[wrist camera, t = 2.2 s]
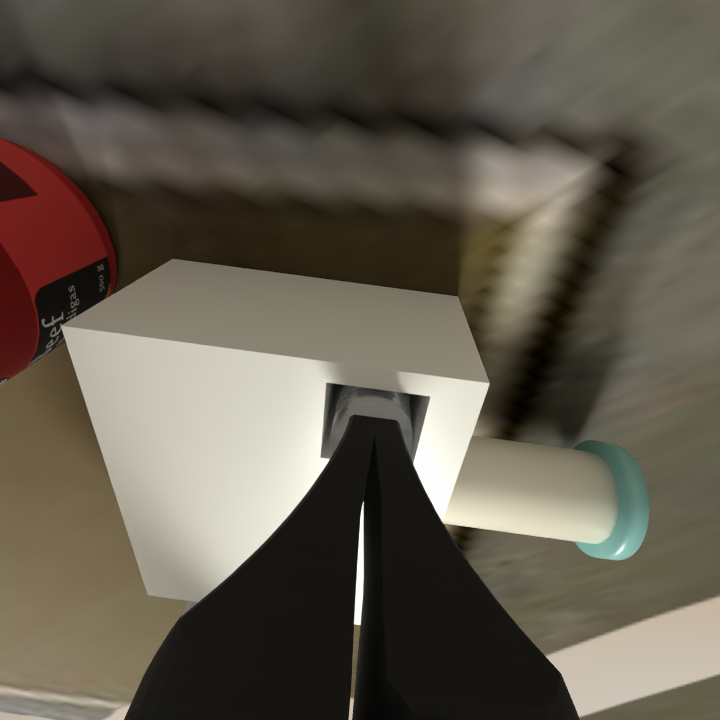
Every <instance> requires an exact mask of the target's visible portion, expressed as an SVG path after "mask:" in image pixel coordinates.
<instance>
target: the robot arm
mask: <svg viewBox="0 0 720 720" xmlns="http://www.w3.org/2000/svg"><path fill="white" fill-rule="evenodd" d="M362 506H363V551H364V580H363V601H362V613H361V625H360V637H359V649H358V661H357V672H356V684H355V695H354V706H353V718H352V720H580V719H579V716H578V714H577V711H576V709H575V706H574V704H573V702H572V699H571V697H570V694H569V692H568V689H567V687H566V685H565V682H564V680H563V677H562V675H561V673H560V672H559V671H558V670H557V669H556V668H555V667H554V665H553V664H552V663H551V662H550V661H549V660H548V659H547V658H546V657H545V656H544V655H543V653H542V652H541V651H540V650H539V649H538V648H537V647H536V646H535V645H534V644H533V642H532V641H531V640H530V639H529V638H528V637H527V636H526V635H525V633H524V632H523V631H522V630H521V629H520V628H519V627H518V625H517V624H516V623H515V622H514V620H513V619H512V618H511V617H510V616H509V614H508V613H507V612H506V611H505V610H504V608H503V607H502V606H501V605H500V603H499V602H498V601H497V600H496V599H495V597H494V596H493V595H492V593H491V592H490V591H489V589H488V588H487V587H486V585H485V584H484V583H483V581H482V580H481V579H480V577H479V576H478V574H477V573H476V572H475V570H474V569H473V568H472V566H471V565H470V564H469V562H468V561H467V560H466V558H465V557H464V555H463V554H462V552H461V551H460V549H459V548H458V546H457V545H456V543H455V542H454V540H453V538H452V537H451V535H450V534H449V532H448V530H447V529H446V527H445V525H444V524H443V522H442V520H441V519H440V517H439V515H438V513H437V512H436V510H435V508H434V506H433V504H432V502H431V500H430V498H429V497H428V495H427V493H426V491H425V489H424V487H423V485H422V482H421V480H420V478H419V476H418V474H417V471H416V469H415V467H414V465H413V462H412V460H411V457H410V455H409V452H408V449H407V447H406V444H405V441H404V438H403V435H402V432H401V428H400V424H399V423H398V421H397V420H392V419H384V418H377V417H369V416H362V415H355V414H354V415H352V416H351V417H350V418H349V422H348V425H347V427H346V430H345V432H344V434H343V436H342V438H341V440H340V442H339V444H338V446H337V448H336V450H335V451H334V453H333V455H332V456H331V458H330V460H329V461H328V463H327V465H326V466H325V468H324V469H323V471H322V472H321V474H320V475H319V477H318V478H317V480H316V481H315V482H314V484H313V485H312V487H311V488H310V489H309V491H308V492H307V493H306V495H305V496H304V497H303V499H302V500H301V501H300V502H299V504H298V505H297V506H296V507H295V509H294V510H293V511H292V512H291V513H290V515H289V516H288V517H287V518H286V519H285V520H284V521H283V523H282V524H281V525H280V526H279V527H278V528H277V529H276V530H275V531H274V532H273V534H272V535H271V536H270V537H269V538H268V539H267V540H266V541H265V542H264V543H263V544H262V545H261V546H260V547H259V548H258V549H257V550H256V551H255V552H254V553H253V554H252V555H251V556H250V557H249V558H248V559H247V560H246V561H244V562H243V563H242V564H241V565H240V566H239V567H238V568H237V569H236V570H235V571H234V572H233V573H232V574H231V575H230V576H229V577H227V578H226V579H225V580H224V581H223V582H222V583H221V584H220V585H218V586H217V587H216V588H215V589H214V590H212V591H211V592H210V593H209V594H208V595H206V596H205V597H204V598H203V599H202V600H200V601H199V602H193V601H188V602H187V605H186V607H185V609H184V611H183V614H182V616H181V617H180V618H179V619H178V621H177V622H176V624H175V625H174V627H173V628H172V630H171V631H170V632H169V634H168V635H167V637H166V638H165V640H164V642H163V643H162V645H161V646H160V648H159V650H158V651H157V653H156V655H155V656H154V658H153V660H152V662H151V664H150V665H149V667H148V669H147V670H146V672H145V674H144V676H143V678H142V681H141V683H140V685H139V687H138V690H137V692H136V694H135V696H134V699H133V701H132V703H131V705H130V707H129V710H128V712H127V714H126V716H125V719H124V720H348V718H349V706H350V694H351V678H352V655H353V635H354V615H355V596H356V579H357V562H358V547H359V532H360V518H361V511H362Z"/></svg>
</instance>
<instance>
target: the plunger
mask: <svg viewBox="0 0 720 720" xmlns="http://www.w3.org/2000/svg"><path fill="white" fill-rule="evenodd" d="M354 414H355V415H362V416H369V417H377V418H384V419H392V420H397V421H398V423H399V424H400V428H401V432H402V435H403V438H404V441H405V444H406V447H407V449H408V452H409V455H410V453H411V450H412V430H411V412H410V394H409V393H401V392H394V391H387V390H379V389H372V388H364V387H357V386H349V385H342V384H341V387H340V392H339V396H338V401H337V406H336V411H335V416H334V420H333V425H332V430H331V435H330V447H331V450H332V452H333V453H334V451H335V450H336V448H337V446H338V444H339V442H340V440H341V438H342V436H343V434H344V432H345V430H346V427H347V425H348V422H349V418H350V417H351V416H352V415H354Z"/></svg>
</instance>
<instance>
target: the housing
mask: <svg viewBox="0 0 720 720" xmlns="http://www.w3.org/2000/svg"><path fill="white" fill-rule="evenodd" d="M61 328H62V331H63V334H64V337H65V341H66V344H67V347H68V350H69V353H70V356H71V359H72V362H73V365H74V368H75V371H76V375H77V378H78V381H79V384H80V387H81V390H82V393H83V396H84V399H85V402H86V405H87V408H88V412H89V415H90V418H91V421H92V424H93V427H94V430H95V433H96V436H97V439H98V442H99V446H100V449H101V452H102V455H103V458H104V461H105V464H106V467H107V470H108V473H109V476H110V479H111V483H112V486H113V489H114V492H115V495H116V498H117V501H118V504H119V507H120V510H121V513H122V517H123V520H124V523H125V526H126V529H127V532H128V535H129V538H130V541H131V544H132V547H133V550H134V554H135V557H136V560H137V563H138V566H139V569H140V572H141V575H142V578H143V581H144V584H145V587H146V591H147V594H148V595H150V596H158V597H165V598H172V599H179V600H186V601H193V602H199V601H200V600H202V599H203V598H204V597H205V596H206V595H208V594H209V593H210V592H211V591H212V590H214V589H215V588H216V587H217V586H218V585H220V584H221V583H222V582H223V581H224V580H225V579H226V578H227V577H229V576H230V575H231V574H232V573H233V572H234V571H235V570H236V569H237V568H238V567H239V566H240V565H241V564H242V563H243V562H244V561H246V560H247V559H248V558H249V557H250V556H251V555H252V554H253V553H254V552H255V551H256V550H257V549H258V548H259V547H260V546H261V545H262V544H263V543H264V542H265V541H266V540H267V539H268V538H269V537H270V536H271V535H272V534H273V532H274V531H275V530H276V529H277V528H278V527H279V526H280V525H281V524H282V523H283V521H284V520H285V519H286V518H287V517H288V516H289V515H290V513H291V512H292V511H293V510H294V509H295V507H296V506H297V505H298V504H299V502H300V501H301V500H302V499H303V497H304V496H305V495H306V493H307V492H308V491H309V489H310V488H311V487H312V485H313V484H314V482H315V481H316V480H317V478H318V477H319V475H320V474H321V472H322V471H323V469H324V468H325V466H326V465H327V463H328V461H329V460H330V458H331V456H332V455H333V452H332V450H331V447H330V435H331V430H332V425H333V420H334V416H335V411H336V406H337V401H338V396H339V392H340V387H341V384H342V385H349V386H357V387H364V388H372V389H379V390H387V391H394V392H401V393H409V394H410V412H411V430H412V450H411V453H410V457H411V460H412V462H413V465H414V467H415V469H416V471H417V474H418V476H419V478H420V480H421V482H422V485H423V487H424V489H425V491H426V493H427V495H428V497H429V498H430V500H431V502H432V504H433V506H434V508H435V510H436V512H437V513H438V515H439V517H440V519H441V520H442V521H443V518H444V515H445V512H446V509H447V506H448V503H449V500H450V497H451V495H452V492H453V489H454V486H455V483H456V480H457V477H458V474H459V471H460V468H461V466H462V463H463V460H464V457H465V454H466V451H467V448H468V445H469V442H470V439H471V437H472V434H473V431H474V428H475V425H476V422H477V419H478V416H479V413H480V410H481V408H482V405H483V402H484V399H485V396H486V393H487V390H488V387H489V384H490V382H489V380H488V377H487V374H486V372H485V369H484V366H483V363H482V361H481V358H480V355H479V353H478V350H477V347H476V344H475V342H474V339H473V336H472V334H471V331H470V328H469V325H468V323H467V320H466V317H465V315H464V312H463V309H462V306H461V304H460V301H459V298H458V296H451V295H443V294H436V293H428V292H421V291H413V290H405V289H398V288H390V287H383V286H375V285H368V284H360V283H353V282H345V281H337V280H330V279H322V278H315V277H307V276H300V275H292V274H284V273H277V272H269V271H262V270H254V269H247V268H239V267H232V266H224V265H216V264H209V263H201V262H194V261H186V260H179V259H172V260H170V261H168V262H167V263H165V264H163V265H162V266H160V267H158V268H157V269H155V270H153V271H151V272H150V273H148V274H146V275H145V276H143V277H141V278H140V279H138V280H136V281H135V282H133V283H131V284H130V285H128V286H126V287H125V288H123V289H121V290H120V291H118V292H116V293H115V294H113V295H111V296H110V297H108V298H106V299H105V300H103V301H101V302H100V303H98V304H96V305H95V306H93V307H91V308H90V309H88V310H86V311H85V312H83V313H81V314H80V315H78V316H76V317H75V318H73V319H71V320H70V321H68V322H66V323H65V324H63V325H61ZM363 580H364V551H363V506H362V511H361V518H360V532H359V547H358V562H357V579H356V596H355V615H354V624H357V625H361V613H362V601H363Z"/></svg>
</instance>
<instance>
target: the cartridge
mask: <svg viewBox="0 0 720 720" xmlns="http://www.w3.org/2000/svg"><path fill="white" fill-rule="evenodd" d="M648 520H649V499H648V492H647V487H646V483H645V480H644V477H643V475H642V472H641V470H640V468H639V466H638V464H637V463H636V461H635V459H634V458H633V457H632V456H631V454H630V453H629V452H628V451H626V450H625V449H624V448H622V447H621V446H619V445H617V444H614V443H608V442H601V441H593V440H588V441H584V442H582V443H580V444H578V445H577V446H576V447H575V448H574V449H567V448H560V447H552V446H545V445H538V444H530V443H523V442H516V441H508V440H501V439H493V438H486V437H479V436H472V437H471V439H470V442H469V445H468V448H467V451H466V454H465V457H464V460H463V463H462V466H461V468H460V471H459V474H458V477H457V480H456V483H455V486H454V489H453V492H452V495H451V497H450V500H449V503H448V506H447V509H446V512H445V515H444V518H443V521H442V522H443V523H445V524H452V525H459V526H467V527H474V528H481V529H489V530H496V531H503V532H510V533H518V534H525V535H532V536H539V537H547V538H554V539H561V540H568V541H574V542H575V543H576V544H577V546H578V547H579V548H580V549H581V550H582V551H583V552H585V553H586V554H588V555H590V556H592V557H597V558H604V559H611V560H624V559H626V558H629V557H630V556H632V555H633V554H634V553H635V552H636V551H637V550H638V548H639V547H640V545H641V544H642V542H643V540H644V537H645V534H646V531H647V526H648Z"/></svg>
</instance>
